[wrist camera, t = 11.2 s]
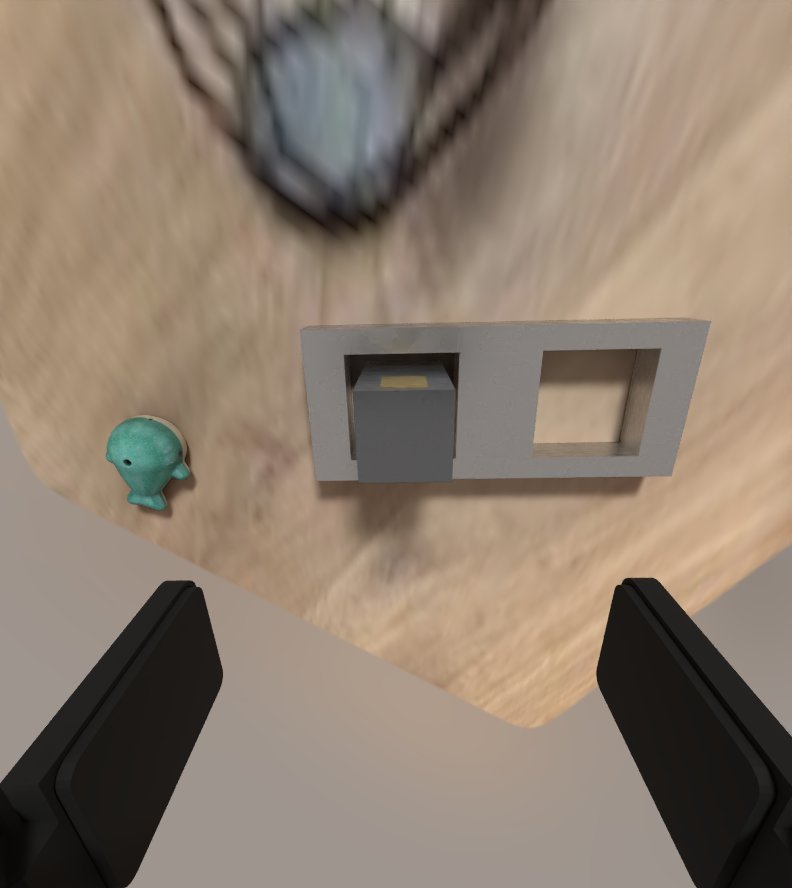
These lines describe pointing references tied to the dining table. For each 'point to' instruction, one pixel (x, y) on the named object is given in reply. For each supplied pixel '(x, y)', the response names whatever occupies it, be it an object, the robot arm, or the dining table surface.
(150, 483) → the whale figurine
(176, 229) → the dining table surface
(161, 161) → the dining table surface
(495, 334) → the rail
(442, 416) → the block
